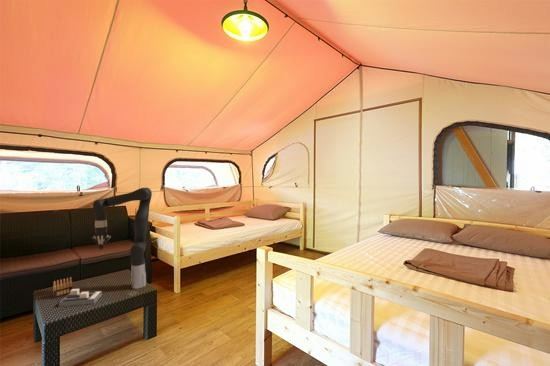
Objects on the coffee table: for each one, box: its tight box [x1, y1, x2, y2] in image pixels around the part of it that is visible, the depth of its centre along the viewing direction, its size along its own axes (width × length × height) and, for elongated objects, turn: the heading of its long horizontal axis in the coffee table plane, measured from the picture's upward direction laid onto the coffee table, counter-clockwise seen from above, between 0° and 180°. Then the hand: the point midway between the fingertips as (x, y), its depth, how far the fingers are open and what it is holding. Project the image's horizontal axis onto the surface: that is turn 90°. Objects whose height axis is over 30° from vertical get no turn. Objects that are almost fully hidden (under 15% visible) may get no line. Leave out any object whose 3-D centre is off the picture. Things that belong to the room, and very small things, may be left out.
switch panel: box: [58, 289, 103, 308], centre depth 174 cm, size 20×12×4 cm, turn 103°
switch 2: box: [80, 290, 90, 298], centre depth 171 cm, size 4×3×3 cm
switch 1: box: [70, 288, 80, 295], centre depth 175 cm, size 4×3×3 cm
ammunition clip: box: [52, 276, 73, 299], centre depth 180 cm, size 11×2×12 cm, turn 138°
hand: (101, 248), depth 193 cm, fingers closed
